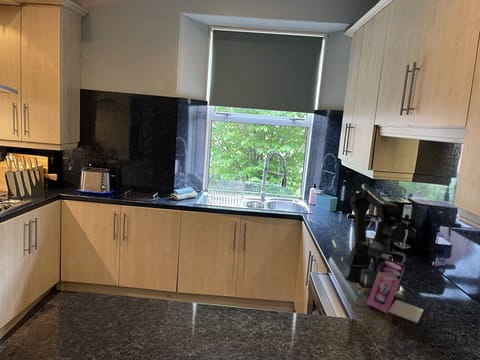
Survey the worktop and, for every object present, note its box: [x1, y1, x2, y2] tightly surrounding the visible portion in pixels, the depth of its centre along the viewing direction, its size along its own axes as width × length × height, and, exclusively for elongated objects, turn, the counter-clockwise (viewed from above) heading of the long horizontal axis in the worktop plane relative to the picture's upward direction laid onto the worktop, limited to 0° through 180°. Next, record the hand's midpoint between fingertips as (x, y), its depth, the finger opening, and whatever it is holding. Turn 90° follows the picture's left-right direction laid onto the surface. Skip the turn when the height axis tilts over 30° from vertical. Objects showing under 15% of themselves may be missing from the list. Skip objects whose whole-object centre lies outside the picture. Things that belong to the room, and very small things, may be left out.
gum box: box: [366, 258, 405, 314], centre depth 142 cm, size 24×8×14 cm, turn 151°
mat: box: [388, 299, 424, 324], centre depth 138 cm, size 14×10×1 cm
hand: (375, 271), depth 146 cm, fingers closed
